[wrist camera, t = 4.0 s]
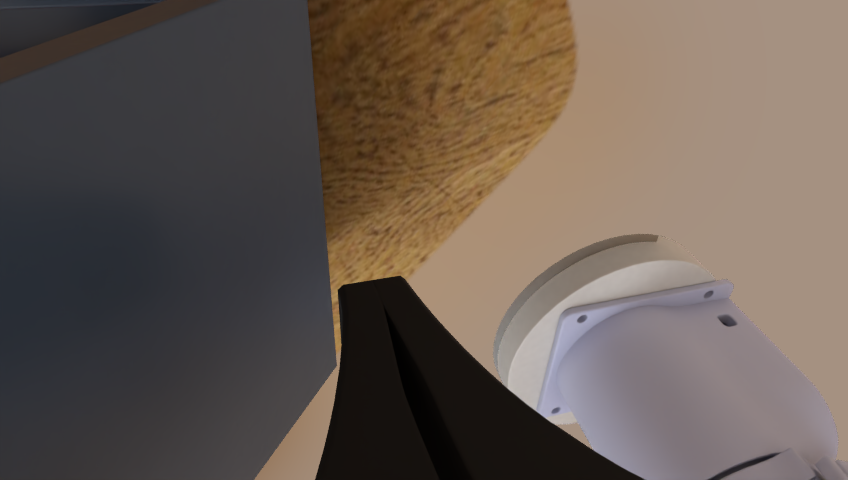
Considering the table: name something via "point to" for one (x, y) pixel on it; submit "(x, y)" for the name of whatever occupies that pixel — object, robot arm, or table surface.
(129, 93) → the lid
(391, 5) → the table surface
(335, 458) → the robot arm
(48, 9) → the box
